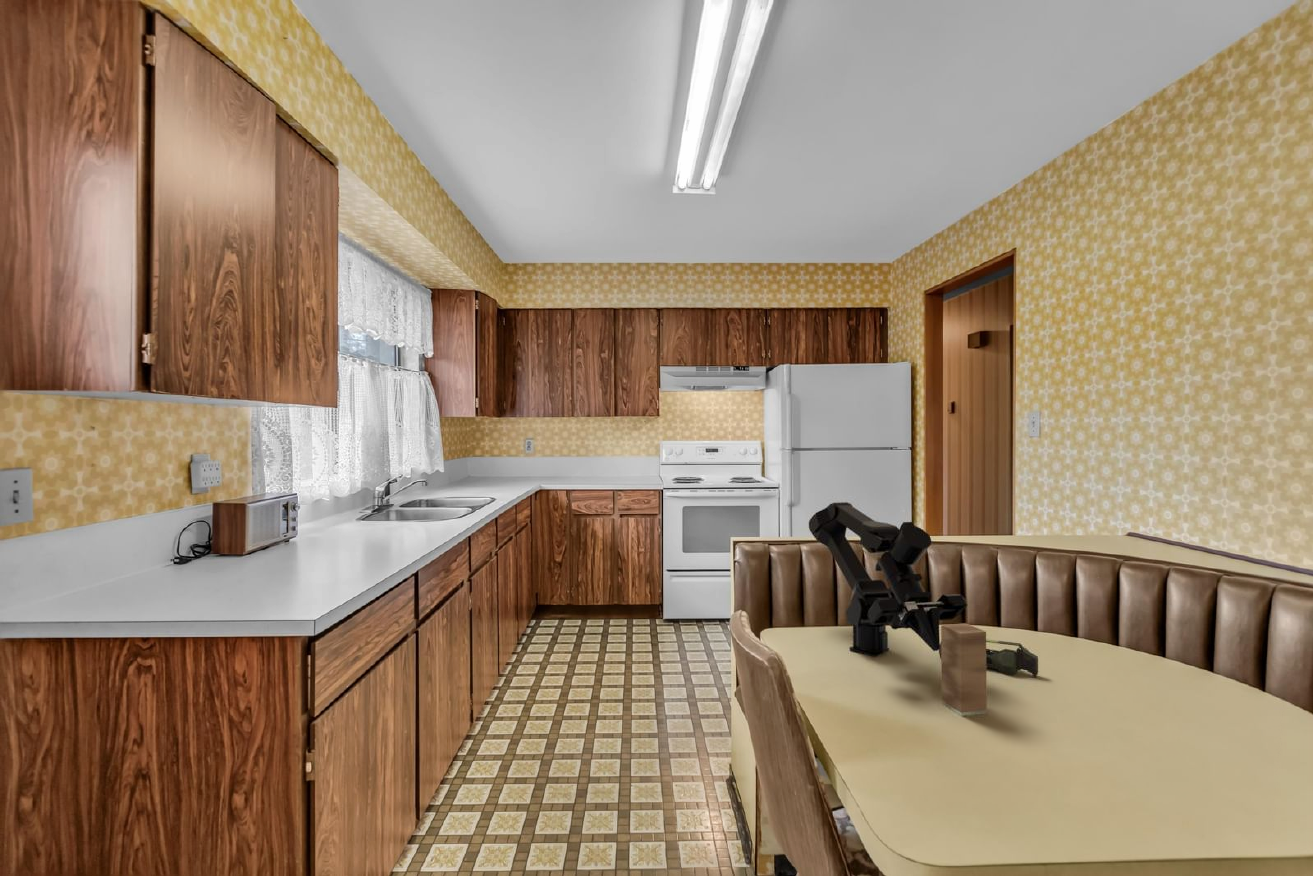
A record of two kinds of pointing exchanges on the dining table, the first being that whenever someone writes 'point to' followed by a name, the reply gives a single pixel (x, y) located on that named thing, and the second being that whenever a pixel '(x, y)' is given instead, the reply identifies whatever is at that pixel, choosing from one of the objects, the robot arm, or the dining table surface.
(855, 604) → the robot arm
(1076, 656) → the dining table surface
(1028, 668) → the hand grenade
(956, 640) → the walnut block
